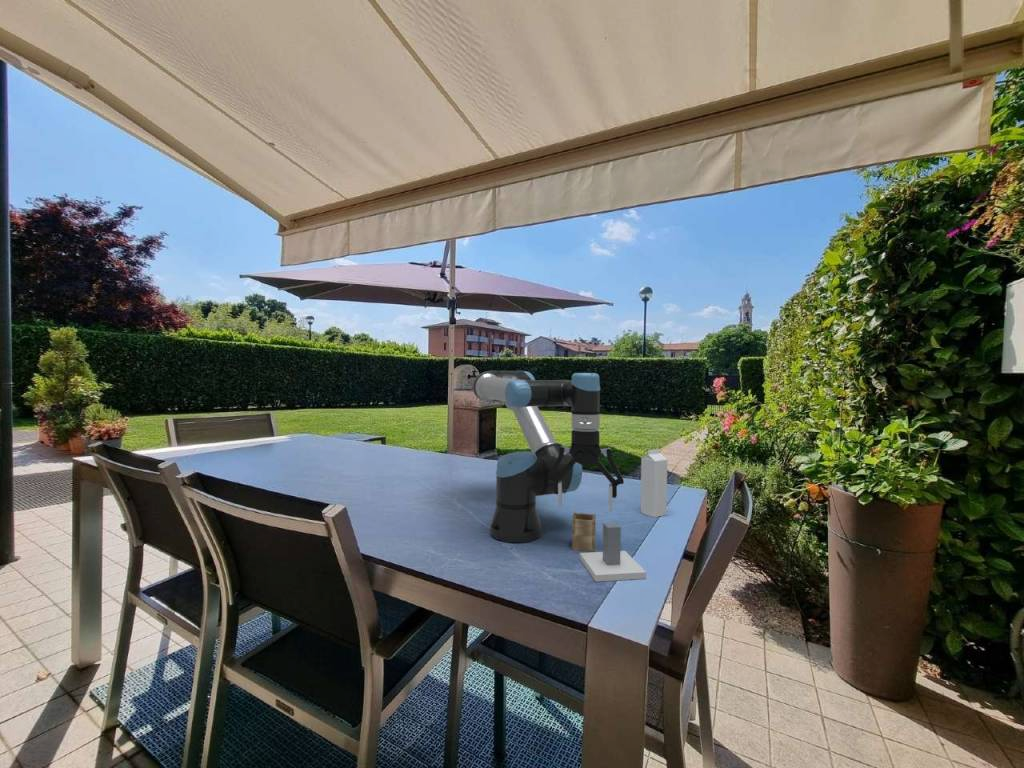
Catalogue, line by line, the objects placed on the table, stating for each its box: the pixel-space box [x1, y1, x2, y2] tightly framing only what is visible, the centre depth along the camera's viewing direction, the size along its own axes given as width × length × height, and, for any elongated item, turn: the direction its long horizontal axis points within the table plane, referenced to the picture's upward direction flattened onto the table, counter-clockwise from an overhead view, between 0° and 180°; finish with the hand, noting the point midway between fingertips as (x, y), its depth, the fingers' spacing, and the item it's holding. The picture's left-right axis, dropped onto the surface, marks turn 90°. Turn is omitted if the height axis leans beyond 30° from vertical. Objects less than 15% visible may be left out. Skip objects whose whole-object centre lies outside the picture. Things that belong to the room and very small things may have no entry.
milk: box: [640, 448, 668, 519], centre depth 142 cm, size 6×6×22 cm
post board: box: [579, 522, 647, 583], centre depth 101 cm, size 12×12×10 cm
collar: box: [571, 512, 597, 552], centre depth 114 cm, size 6×6×8 cm
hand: (584, 507), depth 114 cm, fingers open, 13 cm apart
